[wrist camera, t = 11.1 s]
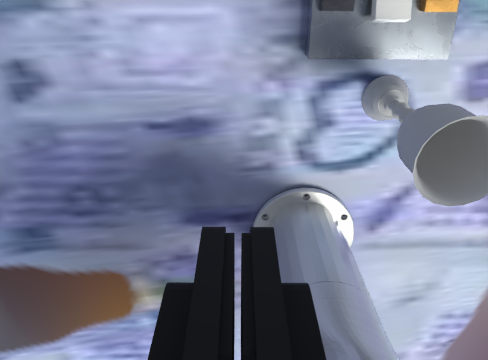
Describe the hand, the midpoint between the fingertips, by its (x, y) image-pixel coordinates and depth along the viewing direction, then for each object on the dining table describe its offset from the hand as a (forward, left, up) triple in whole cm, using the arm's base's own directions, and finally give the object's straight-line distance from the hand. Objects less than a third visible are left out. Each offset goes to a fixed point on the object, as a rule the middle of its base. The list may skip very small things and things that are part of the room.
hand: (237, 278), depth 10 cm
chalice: (-5, -16, -37) cm, 41 cm away
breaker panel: (+5, -14, -37) cm, 40 cm away
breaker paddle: (+5, -14, -35) cm, 38 cm away
